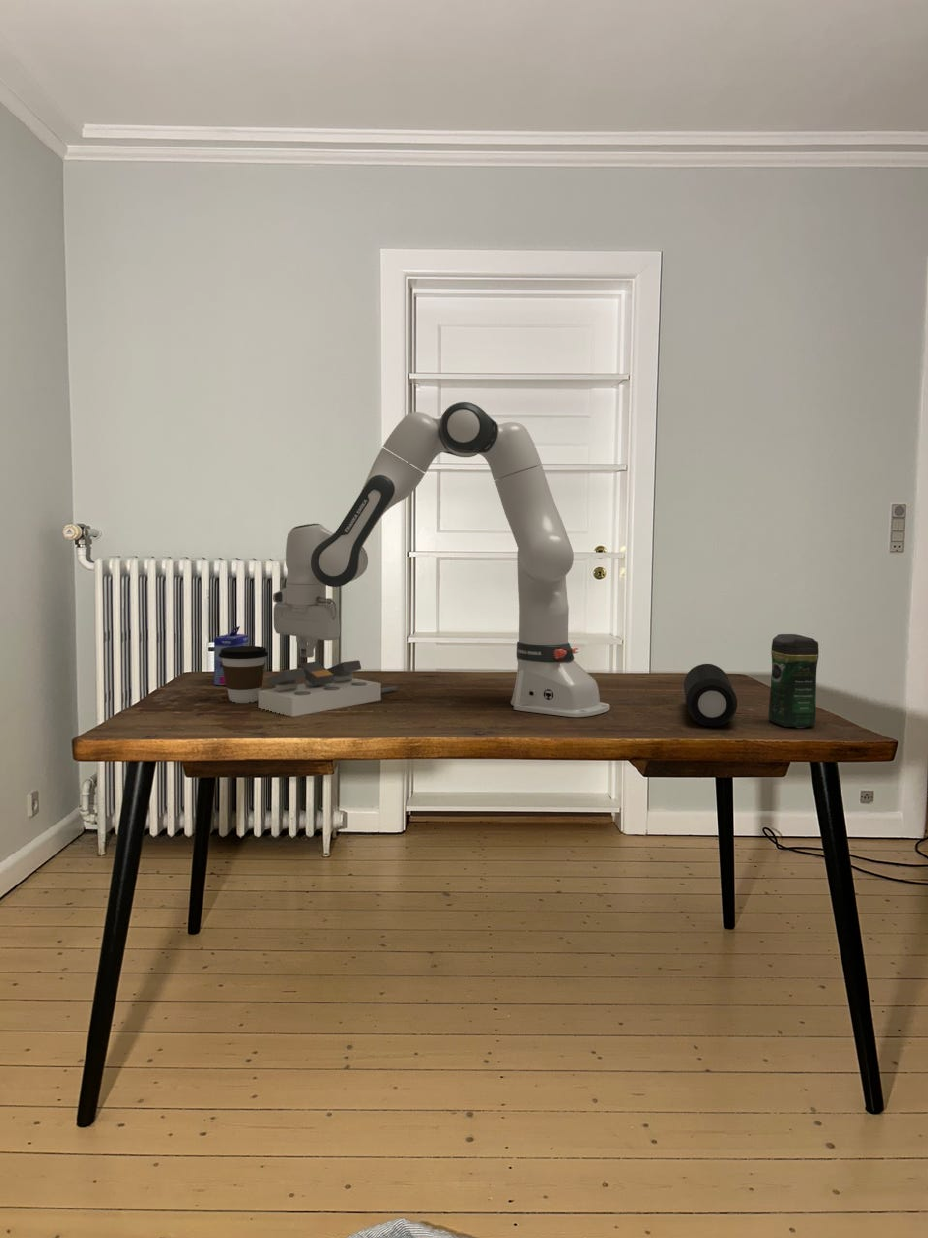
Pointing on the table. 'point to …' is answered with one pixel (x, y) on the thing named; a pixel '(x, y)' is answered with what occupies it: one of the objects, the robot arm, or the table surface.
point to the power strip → (320, 695)
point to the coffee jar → (793, 680)
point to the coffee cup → (243, 672)
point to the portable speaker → (709, 695)
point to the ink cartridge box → (224, 642)
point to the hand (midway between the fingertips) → (306, 656)
